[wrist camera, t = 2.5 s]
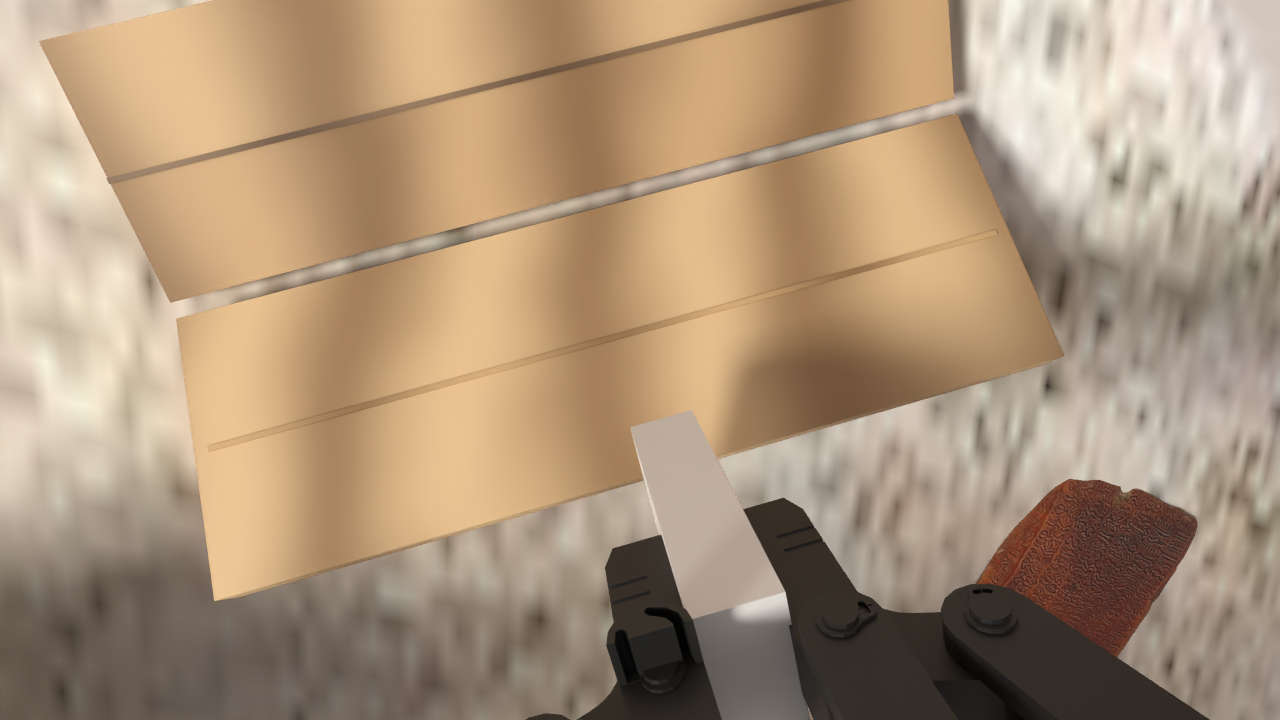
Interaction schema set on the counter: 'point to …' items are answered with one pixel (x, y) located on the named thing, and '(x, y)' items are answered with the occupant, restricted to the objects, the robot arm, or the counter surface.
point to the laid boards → (454, 110)
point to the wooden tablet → (1094, 557)
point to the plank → (597, 350)
